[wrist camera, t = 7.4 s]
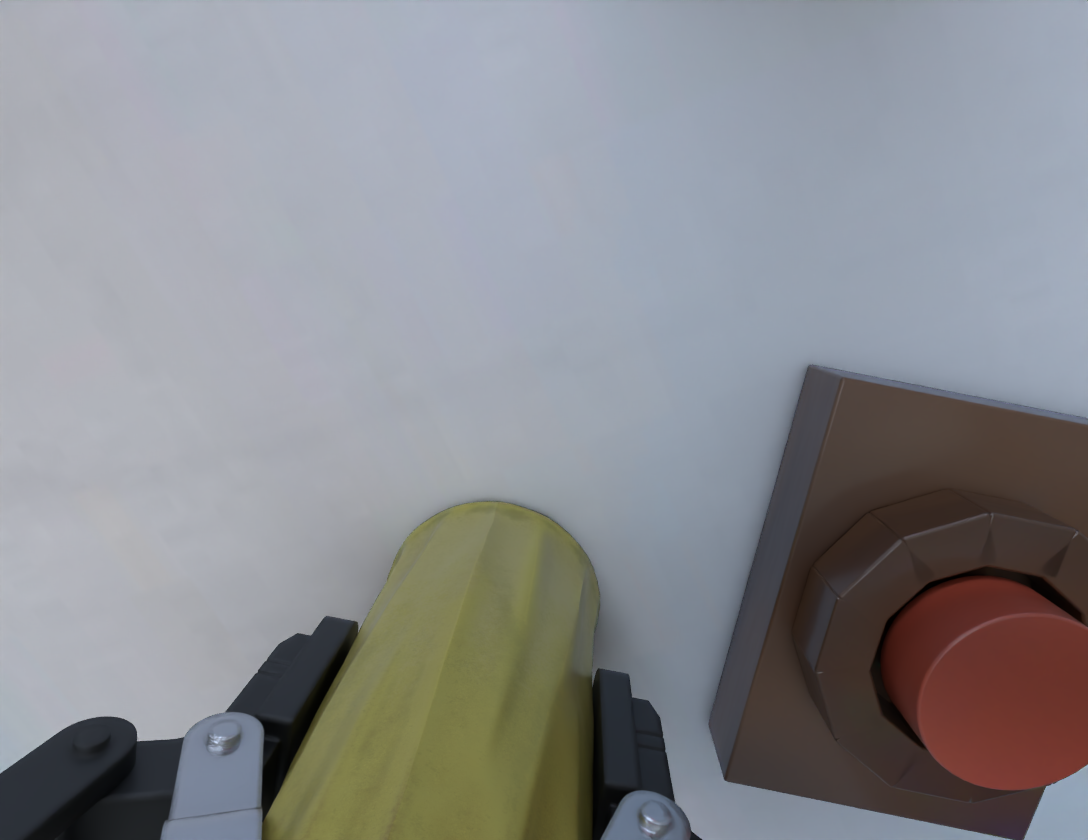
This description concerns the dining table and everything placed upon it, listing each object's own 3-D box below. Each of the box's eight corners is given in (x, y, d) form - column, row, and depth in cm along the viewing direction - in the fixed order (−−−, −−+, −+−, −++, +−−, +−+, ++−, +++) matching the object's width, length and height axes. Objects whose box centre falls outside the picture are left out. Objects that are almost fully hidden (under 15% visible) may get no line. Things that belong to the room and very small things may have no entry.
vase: (592, 491, 18) (632, 1232, 4) (606, 686, 20) (672, 1724, 6) (375, 505, 19) (-228, 1219, 5) (405, 695, 20) (6, 1679, 6)
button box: (972, 778, 20) (1071, 903, 16) (707, 724, 20) (738, 835, 16) (1111, 423, 17) (1268, 465, 13) (808, 363, 17) (874, 388, 13)
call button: (1027, 750, 15) (1084, 809, 14) (857, 715, 15) (892, 770, 14) (1091, 593, 14) (1160, 636, 13) (909, 558, 14) (953, 595, 13)
